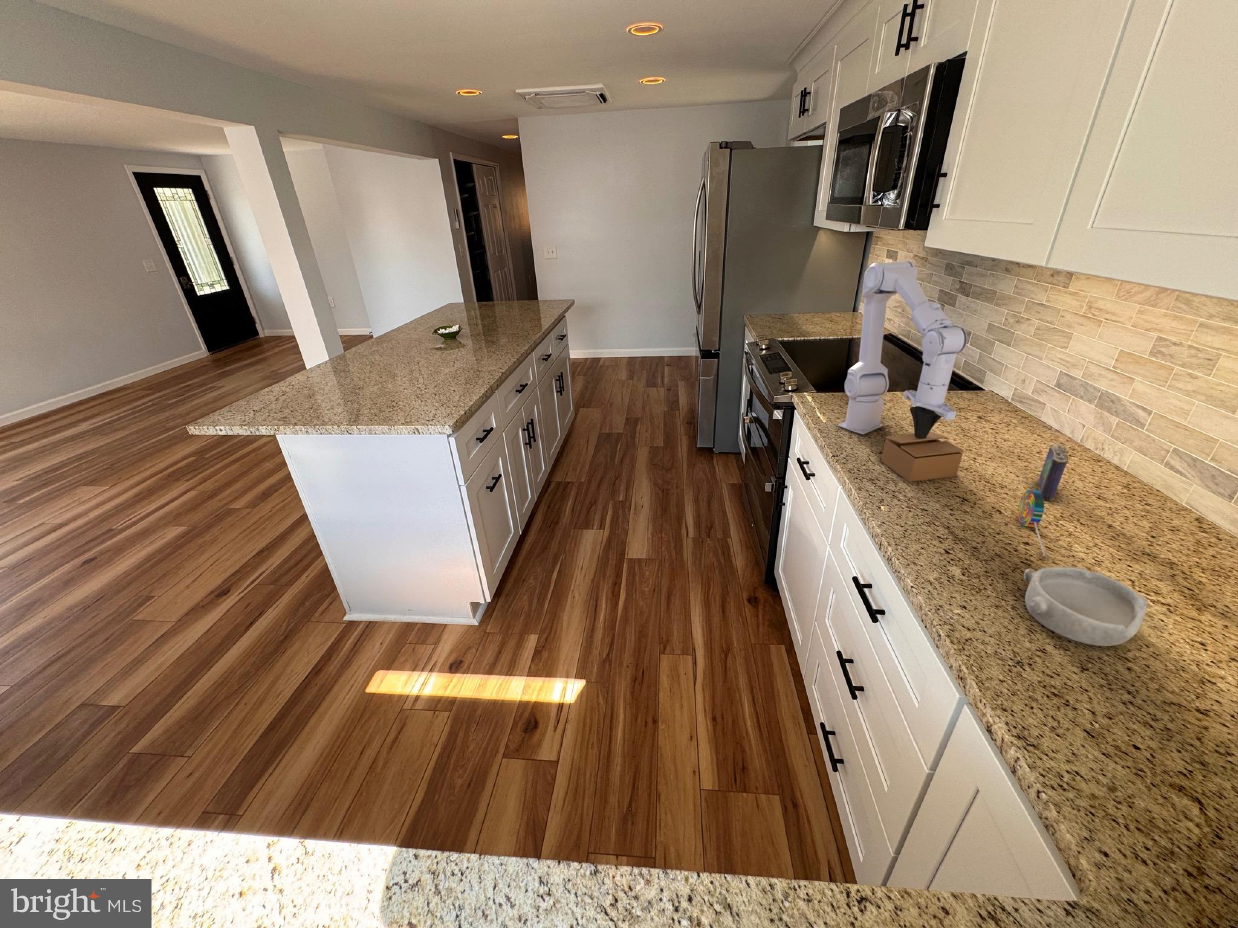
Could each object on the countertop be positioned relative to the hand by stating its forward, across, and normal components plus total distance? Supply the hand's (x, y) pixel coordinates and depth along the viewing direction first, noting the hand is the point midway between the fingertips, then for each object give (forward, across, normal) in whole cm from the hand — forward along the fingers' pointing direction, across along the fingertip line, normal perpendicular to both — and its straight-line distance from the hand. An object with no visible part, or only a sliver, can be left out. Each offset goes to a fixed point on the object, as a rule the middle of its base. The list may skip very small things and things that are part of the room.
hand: (920, 437), depth 120 cm
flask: (+8, +17, +19) cm, 27 cm away
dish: (+8, +50, -8) cm, 51 cm away
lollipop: (+8, +30, +3) cm, 31 cm away
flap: (+1, -1, 0) cm, 1 cm away
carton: (+8, +2, 0) cm, 8 cm away
